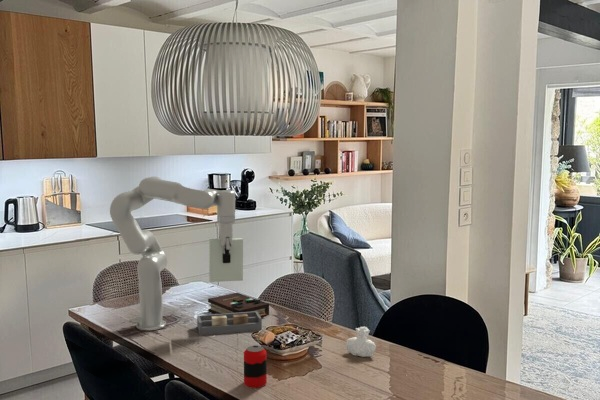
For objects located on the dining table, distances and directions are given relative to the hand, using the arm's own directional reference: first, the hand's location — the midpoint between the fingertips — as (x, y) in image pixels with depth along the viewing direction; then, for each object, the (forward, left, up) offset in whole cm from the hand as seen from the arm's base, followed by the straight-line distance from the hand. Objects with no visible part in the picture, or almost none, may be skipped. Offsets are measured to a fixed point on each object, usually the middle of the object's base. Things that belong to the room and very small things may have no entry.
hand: (226, 261), depth 241 cm
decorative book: (+8, +18, -30) cm, 36 cm away
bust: (+46, -42, -29) cm, 69 cm away
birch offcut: (-4, -6, -28) cm, 29 cm away
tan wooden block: (+5, -6, -28) cm, 29 cm away
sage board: (0, 0, -8) cm, 8 cm away
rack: (+1, -4, -29) cm, 29 cm away
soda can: (+2, -58, -29) cm, 65 cm away
